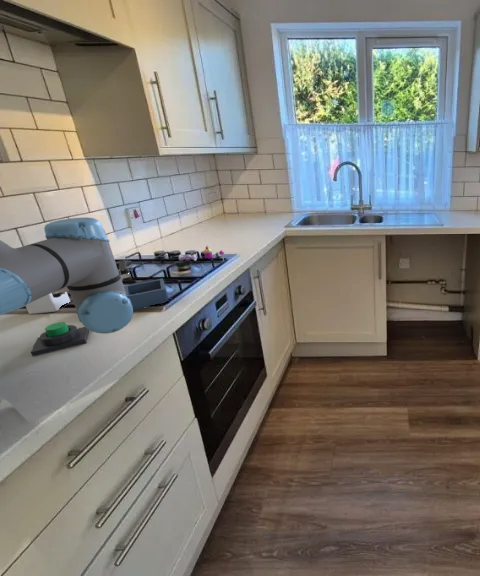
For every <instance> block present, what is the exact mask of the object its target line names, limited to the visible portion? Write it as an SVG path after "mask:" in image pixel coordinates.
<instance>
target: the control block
mask: <svg viewBox="0 0 480 576" xmlns="http://www.w3.org/2000/svg"><path fill="white" fill-rule="evenodd" d="M67 326H68V329H69V331H68V332H67V333H64V334H62V335H59V336H54V337H48V335H47V333H46V331H44V332H42V333H41V334H40V335H39V337H37V338H36V340H35V343H34V345H33V347H32V348H31V350H30V354H31V356H32V357H36V356H41V355H45V354H47V353H52V352H56V351H61V350H65V349H68V348H72V347H76V346H80V345H84V344H87V342H88V337H89V334H90V330H88V329H87V328H86V327H85V326H83V327H77V325H73V324H67Z"/></svg>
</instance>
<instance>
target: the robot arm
mask: <svg viewBox="0 0 480 576" xmlns="http://www.w3.org/2000/svg"><path fill="white" fill-rule="evenodd" d="M43 229H44V234H45V236H44V237H45V239H43V240H40V241H37V242H33V243H30V244H27V245H23V246H20V247H12V246H10V245H9V244H7V243H5V242H4V241H2V240H1V239H0V316H3V315H5V314H8V313H13V312H14V311H18V310H20V309H23V308H26V305H27V304H29V303H31V302H33V301H35V300H37V299H39V298H41V297H44V296H46V295H48V294H50V293H52V295H53V297H54V298H58V297H60V296H61V295H62V294H65V292H67V293H69V295H70V297H71V300H72V302H73V304H74V307H75V310H76V315H77V318H78V320H79V322H80V324H82V326H83V327H86V328H87V329H88V330H89V332H93V333H96V334H107V335H108V334H113V333H116V332H118V331H121V330H122V329H124V328H125V327H127V326H128V324H129V323H130V322H131V320H132V318H133V315H134V311H133V308H132V304H131V301H130V299H129V298H128V297H127V295H126V292H125V289H124V286H125V285H124V283H123V281H125V282H130V281H132V280H133V279H132V276H131V272H130V270H129V268H128V264H127V262H126V260H125V259H120V260H118V262H116V260H115V257H114V254H113V251H112V247H111V244H110V239H109V238H108V236H107V233H106V231H105V229H104V226H103V224H102V222H101V221H100V220H99V219H97V218H94V217H85V216H84V217H71V218H64V219H58V220H54V221H50V222H49V223H46V224H45V225H44V227H43Z"/></svg>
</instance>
